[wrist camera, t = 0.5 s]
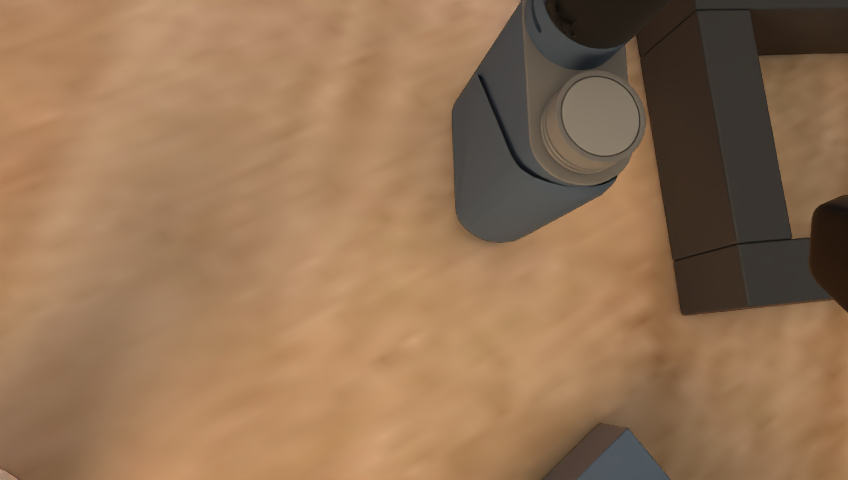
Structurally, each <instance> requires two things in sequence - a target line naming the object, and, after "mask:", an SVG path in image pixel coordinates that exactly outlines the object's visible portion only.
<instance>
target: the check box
mask: <svg viewBox="0 0 848 480" xmlns="http://www.w3.org/2000/svg"><path fill="white" fill-rule="evenodd" d="M542 480H671V479H670V478H669V477H668V476H667V474H666V473H665V472H664V471H663V470H662V468H661V467H660V466H659V465H658V464H657V462H656V461H655V460H654V459H653V457H652V456H651V455H650V454H649V453H648V451H647V450H646V449H645V448H644V446H643V445H642V444H641V443H640V442H639V440H638V439H637V438H636V437H635V436H634V434H633V433H632V432H631V431H630V429H629V428H625V427H620V426H614V425H609V424H603V423H599V424H598V425H597V426H596V427H595V428H594V429H593V430H592V431H591V432H590V433H589V434H588V435H587V436H586V437H585V438H584V439H583V440H582V441H581V442H580V443H579V444H578V445H577V446H576V447H575V448H574V449H573V450H572V451H571V452H570V453H569V454H568V455H567V456H566V457H565V458H564V459H563V460H562V461H561V462H560V463H559V464H558V465H557V466H556V467H555V468H554V469H552V470H551V471H550V472H549V473H548V474H547V475H546V476H545V477H544V478H543V479H542Z"/></svg>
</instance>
